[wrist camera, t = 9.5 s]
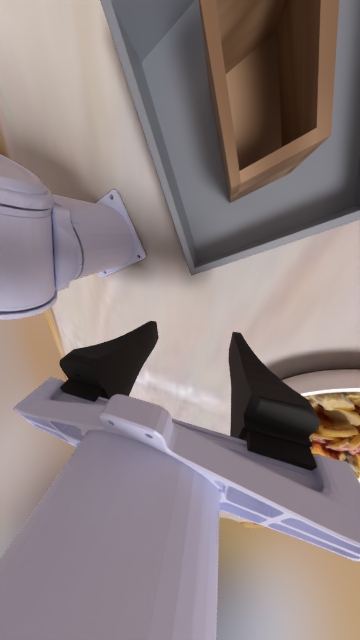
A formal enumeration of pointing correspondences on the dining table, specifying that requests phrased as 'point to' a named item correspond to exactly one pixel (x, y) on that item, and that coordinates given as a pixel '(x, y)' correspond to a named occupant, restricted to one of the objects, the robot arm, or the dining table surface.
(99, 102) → the dining table surface
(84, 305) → the dining table surface
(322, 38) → the walnut crate
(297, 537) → the robot arm
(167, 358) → the dining table surface
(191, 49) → the grey crate
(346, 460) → the bowl
